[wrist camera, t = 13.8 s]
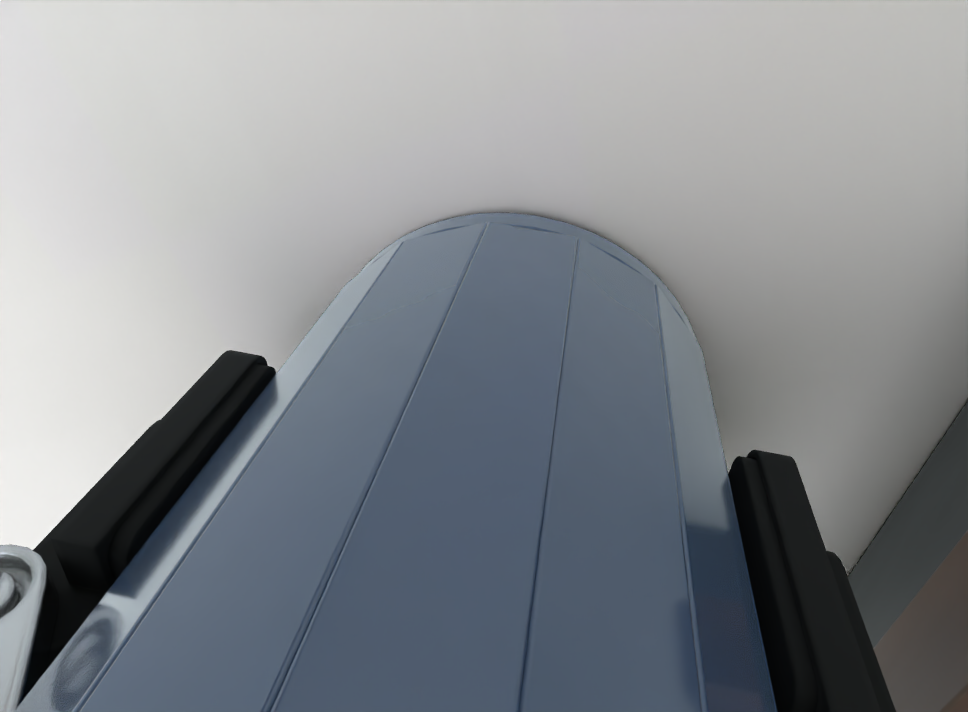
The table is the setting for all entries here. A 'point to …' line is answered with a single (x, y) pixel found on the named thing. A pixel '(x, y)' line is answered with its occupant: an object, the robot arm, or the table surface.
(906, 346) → the table surface
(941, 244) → the table surface
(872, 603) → the brown box
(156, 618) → the cup
